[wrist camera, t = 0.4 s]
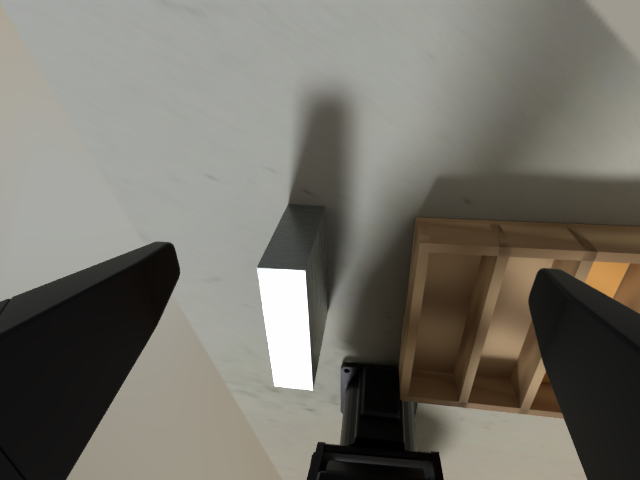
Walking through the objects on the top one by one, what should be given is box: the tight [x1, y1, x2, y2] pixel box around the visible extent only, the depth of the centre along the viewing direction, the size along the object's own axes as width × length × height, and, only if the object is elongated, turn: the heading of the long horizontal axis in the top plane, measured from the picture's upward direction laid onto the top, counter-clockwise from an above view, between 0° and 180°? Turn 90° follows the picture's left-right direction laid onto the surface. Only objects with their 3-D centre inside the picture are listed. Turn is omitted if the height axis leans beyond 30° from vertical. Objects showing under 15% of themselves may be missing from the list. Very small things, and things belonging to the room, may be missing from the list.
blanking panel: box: [257, 205, 328, 390], centre depth 23 cm, size 9×2×7 cm, turn 2°
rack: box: [398, 217, 640, 418], centre depth 24 cm, size 14×13×3 cm
